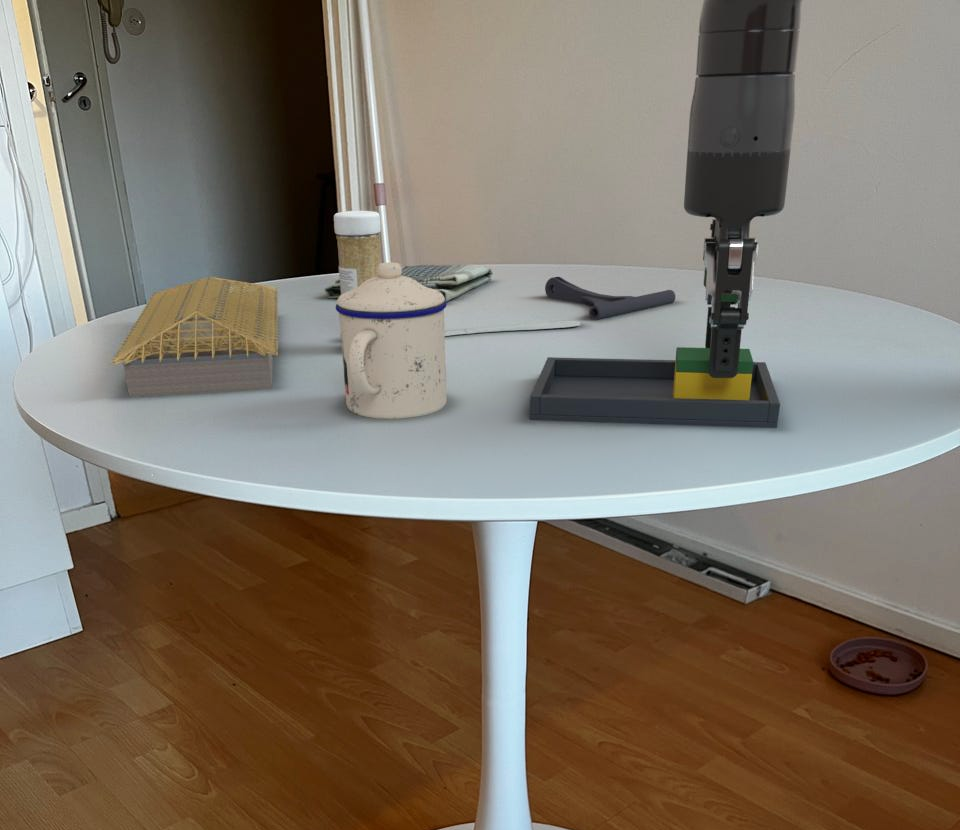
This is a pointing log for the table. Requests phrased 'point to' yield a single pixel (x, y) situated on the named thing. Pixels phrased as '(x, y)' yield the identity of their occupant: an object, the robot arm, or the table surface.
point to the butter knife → (516, 327)
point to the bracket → (605, 299)
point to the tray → (642, 395)
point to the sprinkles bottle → (357, 247)
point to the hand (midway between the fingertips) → (720, 363)
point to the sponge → (698, 382)
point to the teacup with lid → (393, 346)
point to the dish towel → (438, 278)
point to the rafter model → (202, 339)
